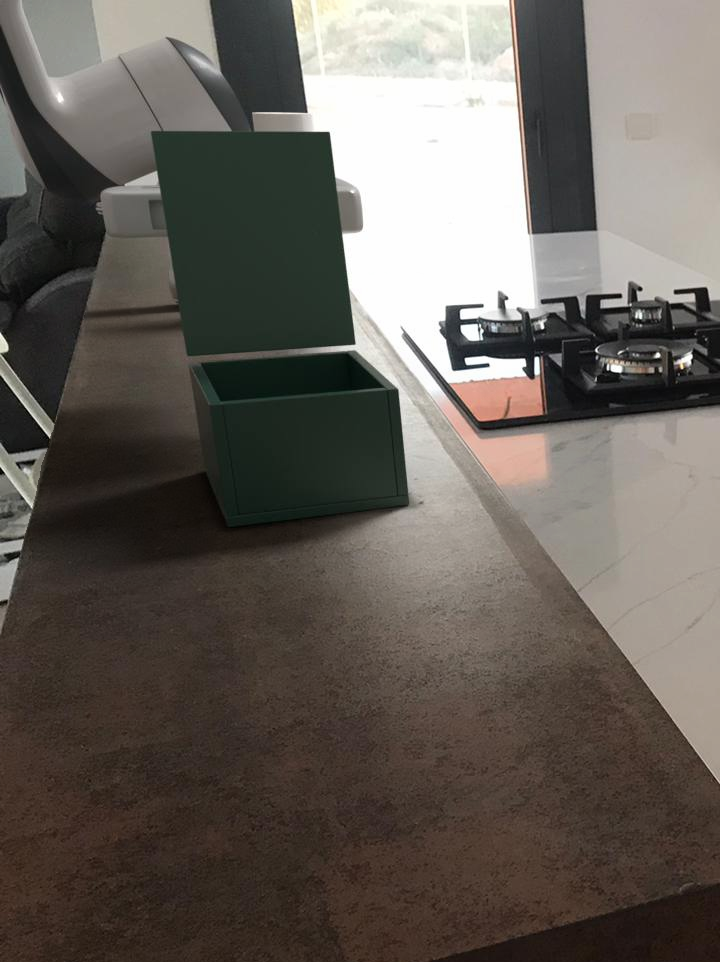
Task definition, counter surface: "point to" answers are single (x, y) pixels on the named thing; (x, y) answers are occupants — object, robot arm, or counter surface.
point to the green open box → (299, 436)
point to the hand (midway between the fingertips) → (246, 218)
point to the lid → (254, 240)
